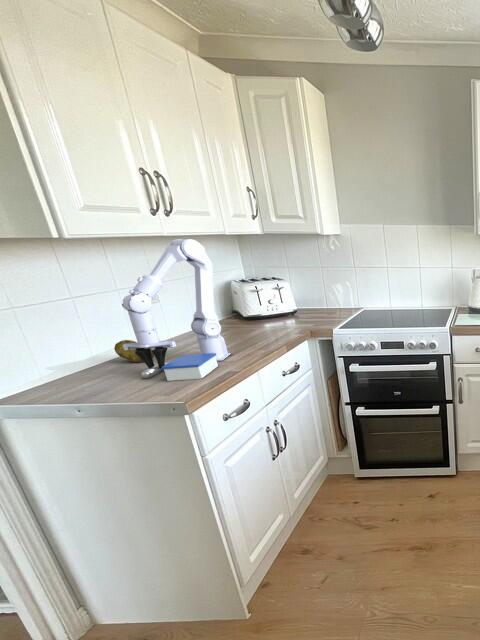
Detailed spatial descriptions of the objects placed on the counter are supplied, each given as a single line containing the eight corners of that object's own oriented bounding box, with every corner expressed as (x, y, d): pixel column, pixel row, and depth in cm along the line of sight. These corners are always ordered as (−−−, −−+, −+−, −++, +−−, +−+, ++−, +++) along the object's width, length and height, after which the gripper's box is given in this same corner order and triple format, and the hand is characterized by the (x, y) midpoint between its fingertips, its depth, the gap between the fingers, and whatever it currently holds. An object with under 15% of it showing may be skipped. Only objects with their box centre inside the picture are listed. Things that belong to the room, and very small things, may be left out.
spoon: (161, 366, 153) (159, 359, 152) (176, 364, 154) (174, 358, 153) (137, 380, 138) (134, 372, 137) (154, 378, 139) (151, 371, 139)
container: (186, 368, 150) (182, 355, 148) (219, 365, 153) (215, 352, 151) (165, 381, 137) (161, 367, 135) (202, 378, 139) (198, 364, 138)
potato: (133, 366, 153) (125, 345, 150) (115, 361, 158) (108, 341, 155) (158, 360, 160) (152, 340, 157) (141, 356, 165) (134, 336, 162)
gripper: (112, 334, 136) (126, 373, 140) (163, 331, 139) (175, 369, 144) (125, 329, 142) (137, 367, 147) (174, 327, 146) (184, 363, 150)
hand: (157, 368), depth 146 cm, fingers closed on spoon, 2 cm apart
